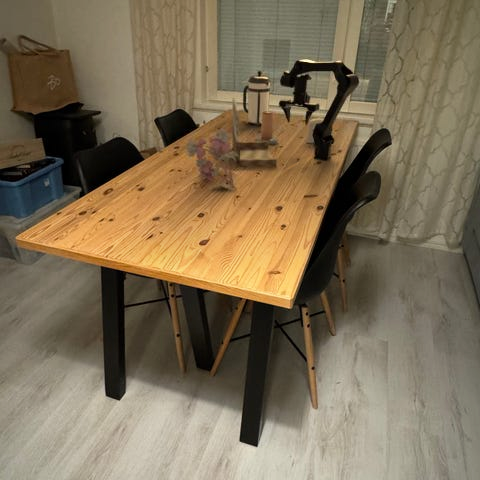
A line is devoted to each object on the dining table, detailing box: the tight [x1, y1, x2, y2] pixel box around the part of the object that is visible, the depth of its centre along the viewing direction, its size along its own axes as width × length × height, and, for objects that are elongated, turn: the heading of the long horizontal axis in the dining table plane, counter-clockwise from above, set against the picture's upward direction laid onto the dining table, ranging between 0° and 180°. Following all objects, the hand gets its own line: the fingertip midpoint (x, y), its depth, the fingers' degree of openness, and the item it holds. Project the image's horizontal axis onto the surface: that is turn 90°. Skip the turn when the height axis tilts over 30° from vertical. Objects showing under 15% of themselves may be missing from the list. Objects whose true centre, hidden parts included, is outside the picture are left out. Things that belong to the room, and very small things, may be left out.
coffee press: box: [242, 70, 271, 128], centre depth 236 cm, size 17×16×30 cm
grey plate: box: [254, 135, 279, 146], centre depth 209 cm, size 12×12×2 cm
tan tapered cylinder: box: [260, 111, 275, 140], centre depth 205 cm, size 6×6×13 cm
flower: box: [181, 128, 240, 192], centre depth 154 cm, size 20×22×25 cm
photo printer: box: [306, 117, 324, 144], centre depth 208 cm, size 10×4×12 cm, turn 98°
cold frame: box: [232, 96, 278, 168], centre depth 181 cm, size 18×28×25 cm, turn 4°
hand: (297, 123), depth 193 cm, fingers open, 9 cm apart
